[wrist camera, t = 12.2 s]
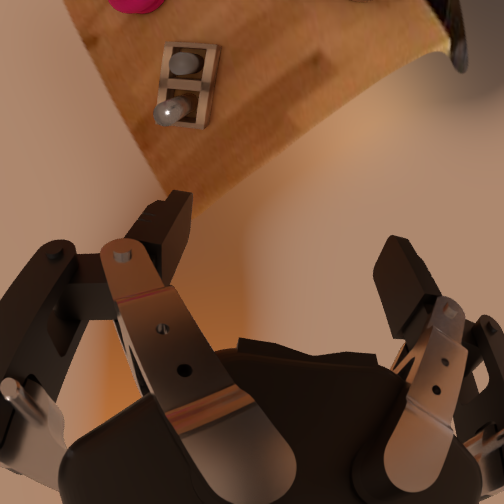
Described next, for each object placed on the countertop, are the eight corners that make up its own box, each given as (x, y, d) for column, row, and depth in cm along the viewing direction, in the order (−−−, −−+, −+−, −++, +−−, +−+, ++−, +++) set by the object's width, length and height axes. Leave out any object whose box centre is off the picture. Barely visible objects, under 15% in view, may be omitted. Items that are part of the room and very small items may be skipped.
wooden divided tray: (173, 43, 33) (156, 40, 28) (221, 46, 33) (212, 42, 28) (163, 119, 40) (147, 128, 35) (208, 124, 40) (198, 134, 35)
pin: (179, 92, 38) (154, 100, 29) (199, 94, 38) (179, 102, 30) (177, 111, 39) (152, 125, 31) (197, 113, 39) (176, 127, 31)
